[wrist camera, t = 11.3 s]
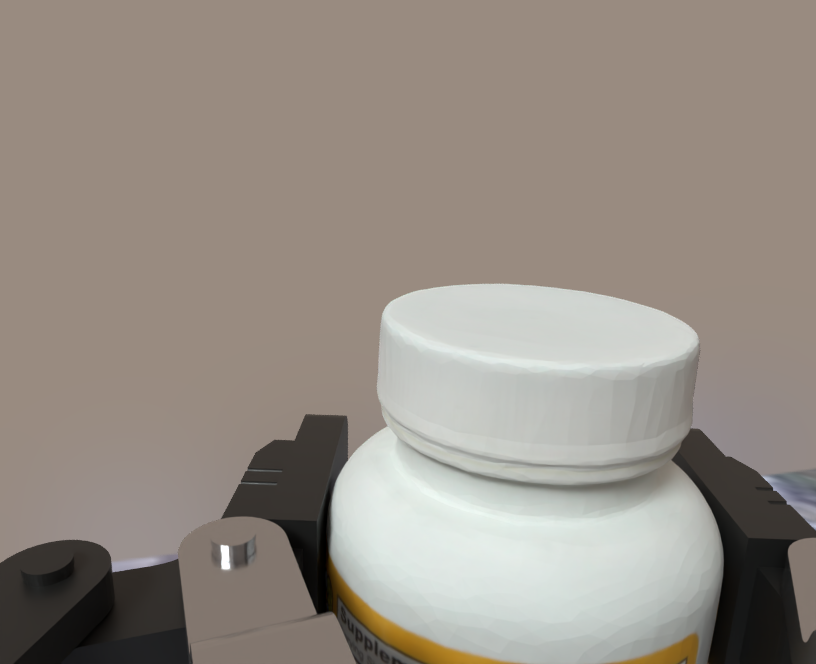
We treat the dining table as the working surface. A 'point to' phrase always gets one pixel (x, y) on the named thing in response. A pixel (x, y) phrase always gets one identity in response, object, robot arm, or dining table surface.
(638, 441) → the supplement bottle
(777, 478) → the dining table surface
